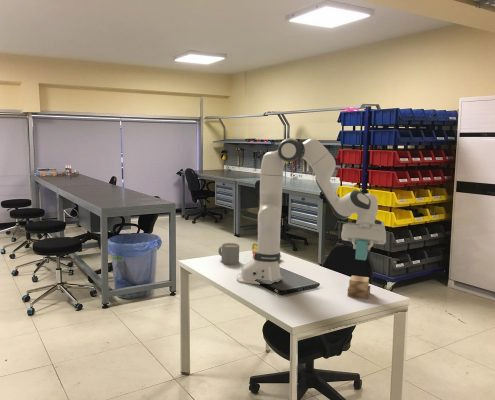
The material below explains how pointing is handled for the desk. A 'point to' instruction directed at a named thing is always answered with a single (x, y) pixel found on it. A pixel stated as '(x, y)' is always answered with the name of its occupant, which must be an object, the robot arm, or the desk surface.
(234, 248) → the coffee mug
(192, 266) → the desk surface
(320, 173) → the robot arm
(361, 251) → the teal pillar
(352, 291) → the walnut base block
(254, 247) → the plastic component
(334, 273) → the desk surface
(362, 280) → the oak top block
